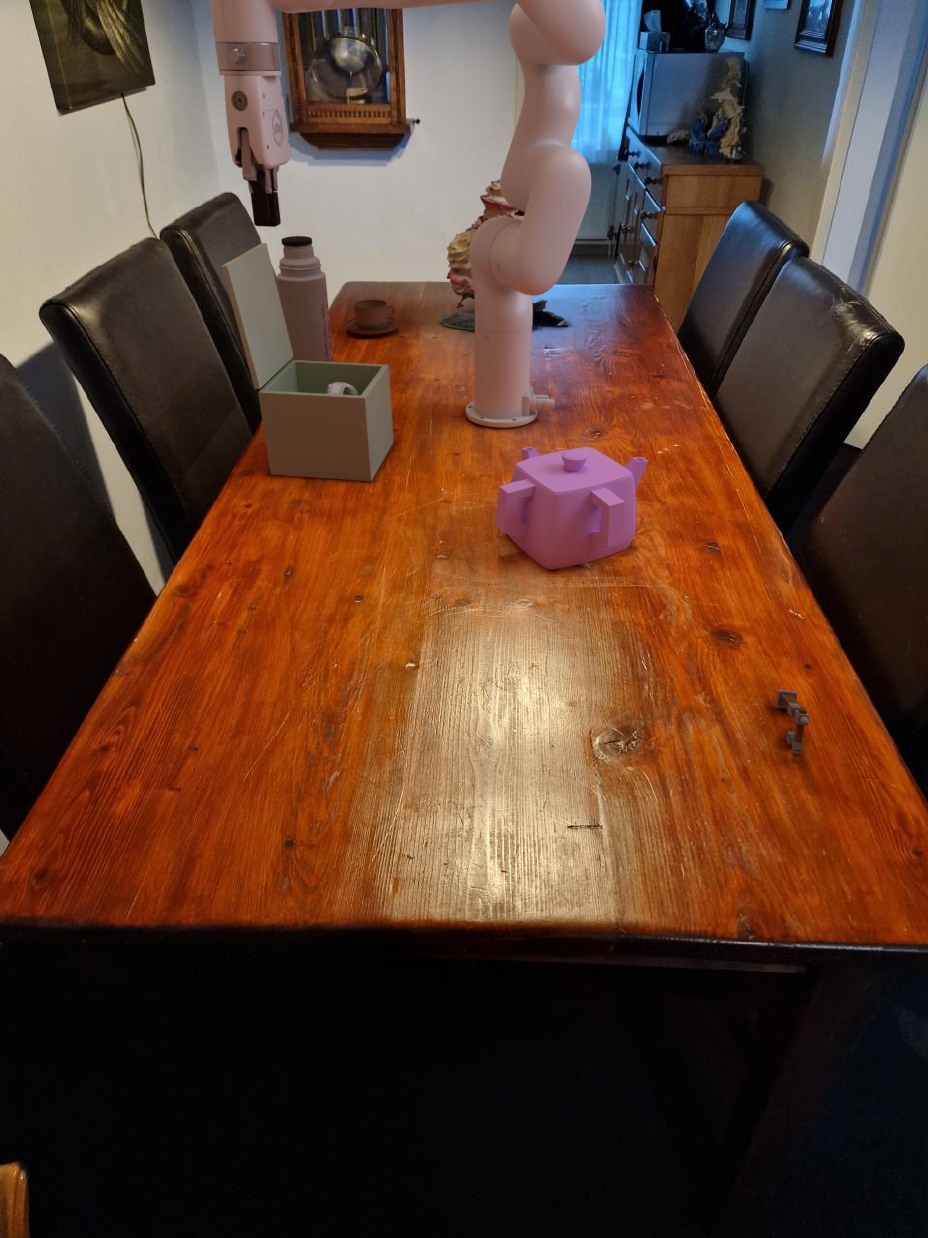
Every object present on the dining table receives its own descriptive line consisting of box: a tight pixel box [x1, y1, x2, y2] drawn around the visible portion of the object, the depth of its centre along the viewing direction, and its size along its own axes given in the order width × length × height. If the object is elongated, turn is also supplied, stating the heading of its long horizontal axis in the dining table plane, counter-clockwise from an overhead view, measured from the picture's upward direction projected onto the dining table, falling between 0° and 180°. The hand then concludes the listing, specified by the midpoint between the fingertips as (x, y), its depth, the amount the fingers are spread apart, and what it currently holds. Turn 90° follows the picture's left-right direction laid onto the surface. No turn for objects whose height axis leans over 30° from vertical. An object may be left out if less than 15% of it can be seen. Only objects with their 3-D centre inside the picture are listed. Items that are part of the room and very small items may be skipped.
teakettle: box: [494, 446, 649, 570], centre depth 104 cm, size 17×17×12 cm
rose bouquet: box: [440, 177, 569, 332], centre depth 183 cm, size 26×29×30 cm
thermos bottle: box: [276, 235, 335, 364], centre depth 140 cm, size 8×8×28 cm
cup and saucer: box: [344, 299, 399, 336], centre depth 184 cm, size 12×12×6 cm
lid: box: [221, 242, 293, 390], centre depth 118 cm, size 17×15×1 cm
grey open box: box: [257, 360, 394, 482], centre depth 125 cm, size 16×15×13 cm
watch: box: [324, 382, 358, 396], centre depth 125 cm, size 6×8×11 cm
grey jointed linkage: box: [774, 689, 810, 758], centre depth 77 cm, size 2×8×4 cm, turn 169°
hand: (267, 224), depth 110 cm, fingers closed
